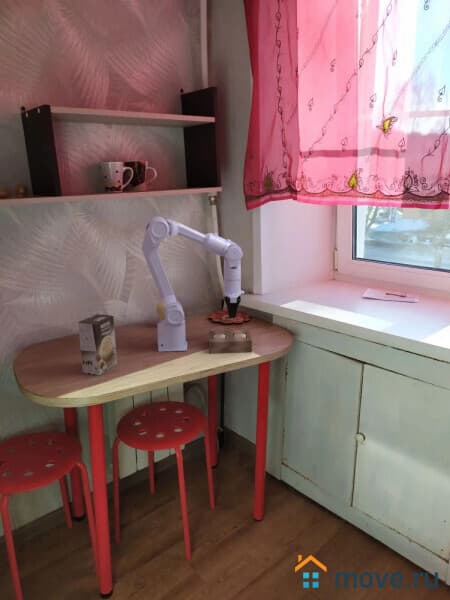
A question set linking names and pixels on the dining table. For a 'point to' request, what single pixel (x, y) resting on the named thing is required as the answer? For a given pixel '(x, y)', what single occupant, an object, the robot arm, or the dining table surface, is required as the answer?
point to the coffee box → (97, 344)
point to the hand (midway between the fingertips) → (232, 317)
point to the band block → (230, 342)
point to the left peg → (218, 336)
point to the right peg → (239, 335)
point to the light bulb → (161, 311)
